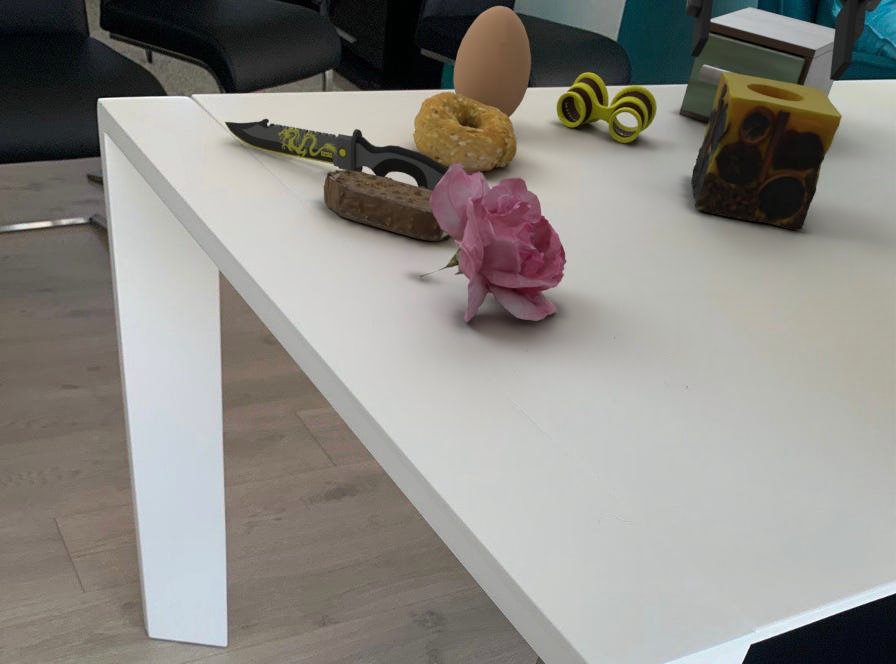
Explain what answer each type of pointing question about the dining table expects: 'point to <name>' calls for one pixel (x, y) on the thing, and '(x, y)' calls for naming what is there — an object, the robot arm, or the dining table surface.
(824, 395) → the dining table surface
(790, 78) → the drawer
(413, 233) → the ice cream bar
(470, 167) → the bagel
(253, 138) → the knife
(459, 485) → the dining table surface
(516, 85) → the egg
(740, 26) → the cabinet
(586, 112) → the opera glasses
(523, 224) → the flower
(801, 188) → the candle
